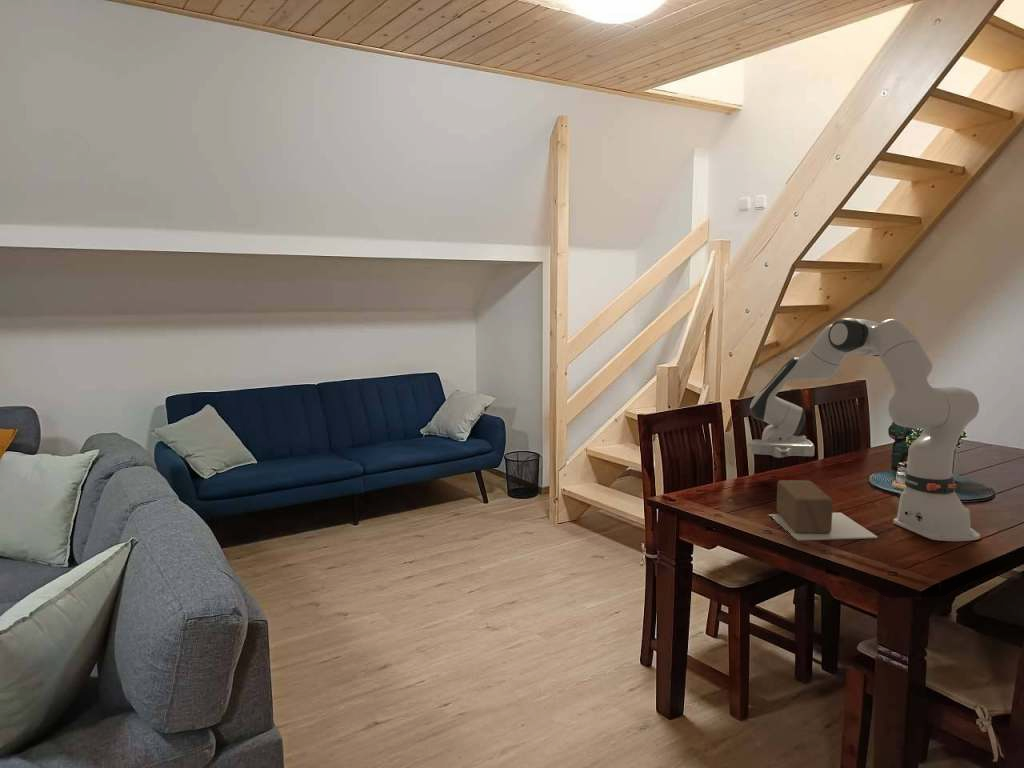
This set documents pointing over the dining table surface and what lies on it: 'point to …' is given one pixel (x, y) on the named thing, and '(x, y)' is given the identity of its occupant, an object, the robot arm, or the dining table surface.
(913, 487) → the robot arm
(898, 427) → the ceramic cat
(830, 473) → the dining table surface
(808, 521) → the block
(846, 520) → the mat
